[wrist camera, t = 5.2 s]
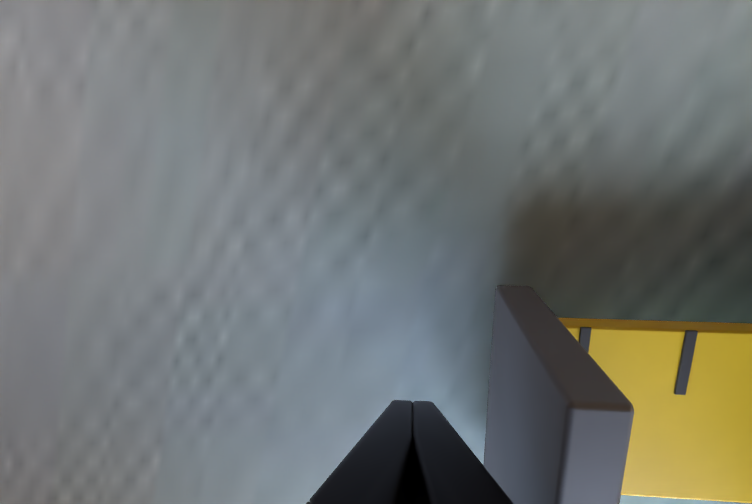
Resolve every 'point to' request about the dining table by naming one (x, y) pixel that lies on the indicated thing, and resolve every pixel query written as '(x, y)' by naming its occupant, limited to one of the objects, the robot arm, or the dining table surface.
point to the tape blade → (616, 406)
